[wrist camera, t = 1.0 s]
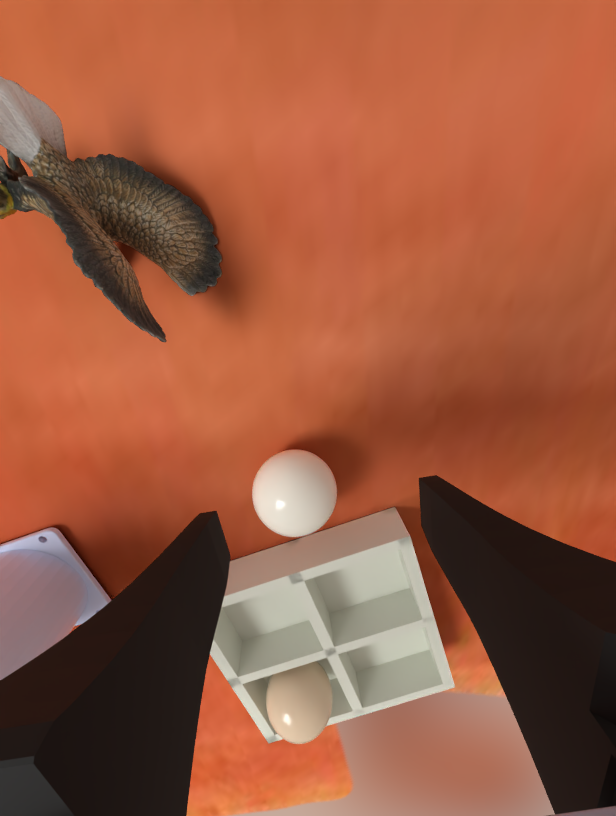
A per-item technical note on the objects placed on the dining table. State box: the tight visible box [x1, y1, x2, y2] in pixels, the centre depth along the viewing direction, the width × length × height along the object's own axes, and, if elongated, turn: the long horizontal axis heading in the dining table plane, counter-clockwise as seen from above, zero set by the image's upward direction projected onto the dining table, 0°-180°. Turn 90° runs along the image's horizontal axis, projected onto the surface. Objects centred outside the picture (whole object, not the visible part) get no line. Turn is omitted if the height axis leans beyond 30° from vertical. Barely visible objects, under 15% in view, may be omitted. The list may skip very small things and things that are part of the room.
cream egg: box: [252, 449, 337, 537], centre depth 19 cm, size 5×5×5 cm
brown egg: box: [266, 661, 333, 744], centre depth 25 cm, size 5×5×5 cm
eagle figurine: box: [0, 76, 222, 342], centre depth 14 cm, size 8×7×9 cm
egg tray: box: [210, 507, 455, 743], centre depth 25 cm, size 15×15×3 cm
